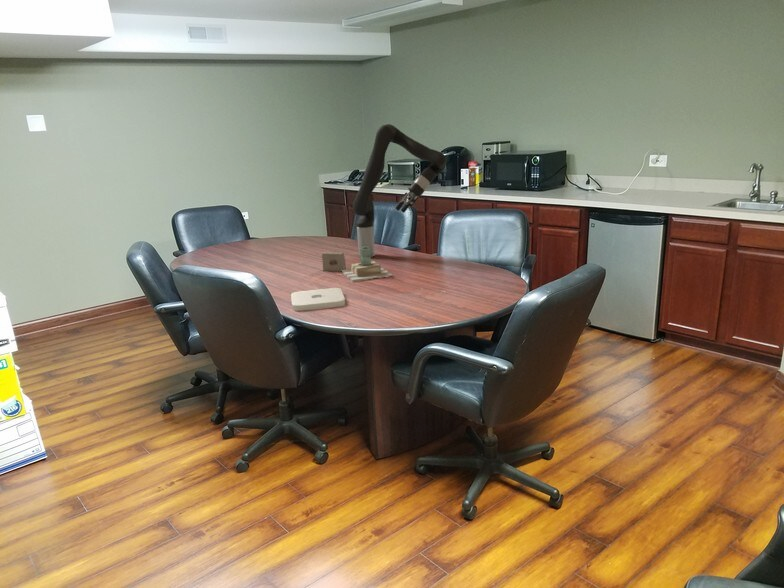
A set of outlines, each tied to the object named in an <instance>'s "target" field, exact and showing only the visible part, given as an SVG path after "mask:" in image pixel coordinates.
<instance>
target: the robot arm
mask: <svg viewBox="0 0 784 588" xmlns="http://www.w3.org/2000/svg"><path fill="white" fill-rule="evenodd" d="M390 143H393V144H395V145H398V146H400V147H402V148H404V150H406V151H407V152H409V153H410V154H411V155H413V156H414V157H415V158H418V159H419V160H422V161H424V162H429V163H430V165H429V166H428V167H425V168H424V169H423V170H422V171H421V173H420V174H419V175H418V176H417V177H416V178H415V179H414V180H413V182H412V183H411V185H410V186H409V187H408V188H407V189H408V191H409V192H405V193H404V194H403V195H402V196H401V197H400V198H399V200H398V204H397V205H396V206H395V210H397V211H400V212H402V213H405V212H406V211H407V210H408V209H409V208H411V207H413V205H414V204H415V203H416V202H417V200H418V199H419V198H420V197H422V195H423V194H424V193H425V192H426V190H427V189H428V187H429V186H430V184H432V182H433V181H434V179H435V178H436V177H437V176H438V175H439V174H440V173H442V172H443V170H444V169H445V168H446V167H447V157H446V155H445V154H444V153H443V152H441V151H438V150H436V149H433V148H430V147H428V146H426V145H424V144H423V143H420V142H418V141H416V140H414V139H413V138H411V137H409V136H408V135H406V134H405V133H404V132H402V131H401V130H400V129H398V128H397V127H396V126H395V125H393V124H390V123H388V124H383V125H381V126H379V128H378V129H377V131H376V134H375V138H374V143H373V147H372V151H371V153H370V156H369V158H368V162H367V164H366V167H365V170H364V173H363V174H364V175H363V177H362V180H361V183H360V187H359V188H358V191H357V194H356V195H355V198H354V200H353V203H352V211H353V213H354V214H355V215H356V216H359V218H358V220H357V221H356V235H357V249H358V250H357V251H358V258H360V252H359V248H362V247H364V246H366V247H368V248H370V253H371V258H373V256H374V257H376V253H375V235H374V221H375V206H374V202H373V200H372V199H371V198H370V197H371V195H372V193H373V192H374V190H375V188H376V187H377V185H378V184H379V182H380V181H381V178H382V176H383V173H384V169H385V163H386V161H385V160H386V154H387V150H388V147H389V146H390Z"/></svg>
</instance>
